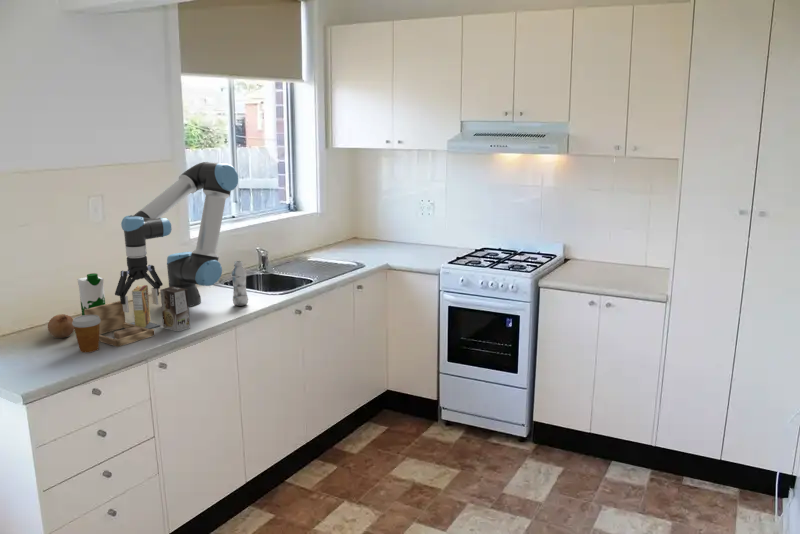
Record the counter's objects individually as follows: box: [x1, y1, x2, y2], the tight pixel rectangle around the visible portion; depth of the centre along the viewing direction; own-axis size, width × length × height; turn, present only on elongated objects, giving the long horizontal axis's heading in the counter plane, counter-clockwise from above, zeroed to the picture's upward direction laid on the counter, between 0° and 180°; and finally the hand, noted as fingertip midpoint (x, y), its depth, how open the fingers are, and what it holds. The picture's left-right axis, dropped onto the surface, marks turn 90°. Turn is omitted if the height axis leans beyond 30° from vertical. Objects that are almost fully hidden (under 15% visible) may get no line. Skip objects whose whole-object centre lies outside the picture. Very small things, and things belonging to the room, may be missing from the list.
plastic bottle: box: [231, 260, 249, 307], centre depth 302 cm, size 6×7×20 cm
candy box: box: [131, 284, 152, 327], centre depth 273 cm, size 9×4×15 cm, turn 7°
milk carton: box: [76, 272, 106, 316], centre depth 280 cm, size 9×9×20 cm
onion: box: [47, 313, 75, 339], centre depth 261 cm, size 10×9×10 cm
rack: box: [84, 300, 155, 348], centre depth 261 cm, size 16×20×11 cm
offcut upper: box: [113, 326, 142, 339], centre depth 258 cm, size 9×4×2 cm, turn 141°
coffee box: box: [159, 286, 191, 332], centre depth 271 cm, size 9×6×16 cm
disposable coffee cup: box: [72, 315, 101, 353], centre depth 246 cm, size 10×10×12 cm
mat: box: [130, 321, 161, 329], centre depth 275 cm, size 8×12×1 cm, turn 56°
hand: (141, 307), depth 273 cm, fingers open, 13 cm apart
